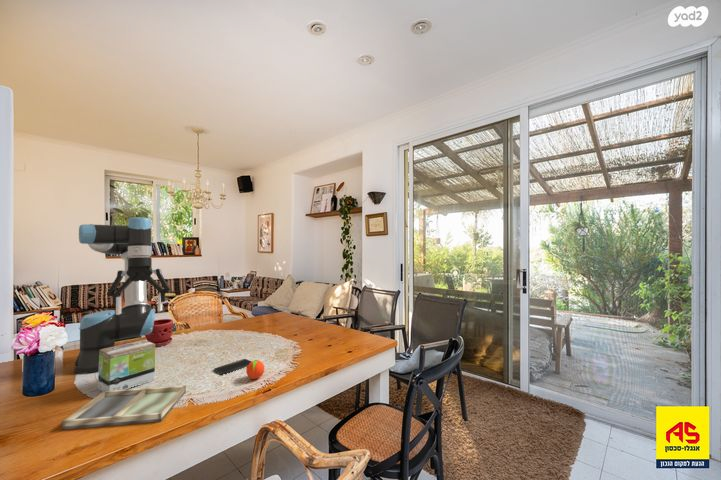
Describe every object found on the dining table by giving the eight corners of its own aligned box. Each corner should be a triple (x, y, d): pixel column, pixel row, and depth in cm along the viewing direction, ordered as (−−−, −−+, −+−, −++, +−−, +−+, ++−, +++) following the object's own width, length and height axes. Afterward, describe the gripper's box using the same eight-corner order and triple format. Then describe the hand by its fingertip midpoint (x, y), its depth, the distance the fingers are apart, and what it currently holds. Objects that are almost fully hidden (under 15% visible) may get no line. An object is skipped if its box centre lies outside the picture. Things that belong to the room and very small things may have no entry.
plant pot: (157, 339, 172) (157, 318, 173) (178, 341, 171) (178, 319, 171) (137, 347, 160) (137, 324, 160) (160, 349, 158) (160, 325, 158)
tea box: (109, 396, 109) (109, 354, 109) (97, 389, 115) (97, 349, 115) (155, 380, 122) (155, 342, 122) (143, 374, 127) (143, 338, 128)
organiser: (61, 429, 90) (61, 421, 90) (104, 397, 108) (104, 391, 108) (161, 421, 94) (161, 413, 94) (185, 392, 113) (185, 385, 113)
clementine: (262, 382, 120) (262, 364, 120) (244, 384, 119) (244, 365, 119) (265, 374, 128) (265, 356, 128) (248, 375, 127) (248, 357, 127)
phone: (212, 369, 131) (244, 358, 143) (212, 371, 131) (244, 360, 143) (222, 373, 126) (254, 362, 138) (222, 376, 126) (254, 365, 138)
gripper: (96, 258, 113) (95, 317, 112) (174, 255, 122) (174, 310, 120) (105, 258, 121) (105, 314, 119) (178, 256, 129) (178, 308, 127)
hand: (139, 312), depth 120 cm, fingers open, 13 cm apart
